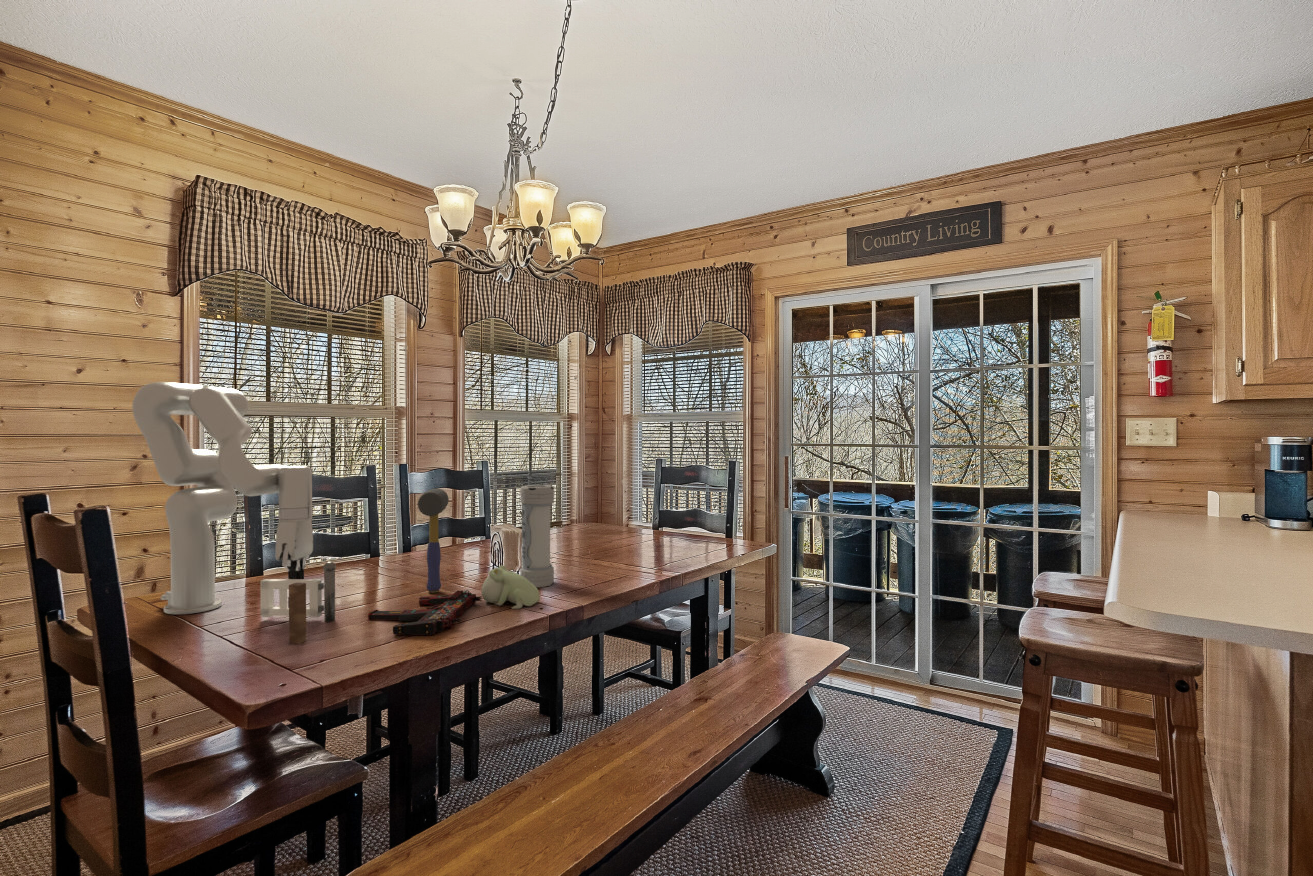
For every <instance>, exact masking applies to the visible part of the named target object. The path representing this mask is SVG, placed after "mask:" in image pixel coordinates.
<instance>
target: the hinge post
mask: <svg viewBox="0 0 1313 876" xmlns="http://www.w3.org/2000/svg"><path fill="white" fill-rule="evenodd" d="M322 568H323V569H322V570H323V579H324V580H323V581H324V582H323V583H324V591H323V592H324V594H323V601H324V602H323V603H324V604H323V605H324V611H323V614H324V616H323V618H324V622H325V623H331V622H335V621H336V569H337V566H336V563H335V562H333V561H326V563H324V564H323V567H322Z"/></svg>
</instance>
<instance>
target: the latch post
mask: <svg viewBox="0 0 1313 876" xmlns="http://www.w3.org/2000/svg"><path fill="white" fill-rule="evenodd" d="M287 607H288V608H289V616H288V643H289V645H290V644H293V645H300V644H302V643H305V642H307V616H306V607H307V589H306V583H293V584H290V585H289V589H288V596H287Z"/></svg>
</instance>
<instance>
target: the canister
mask: <svg viewBox="0 0 1313 876" xmlns="http://www.w3.org/2000/svg"><path fill="white" fill-rule="evenodd" d="M554 502H555V486H553V485H548V484H529V485H528V484H527V485H523V486H521V487H520V503H521V505H522V507H521V508H522V509H521V517H522V519H521V526H522V528H521V541H522V543H521V544H522V545H521V557H522V558H521V563H522V567H521V568H520V575H521V576H523V577H525V578H526V579H527V580H528V581H529V582H530V583H532V584H534V585H535V586H536V588H537V589H539V588H546V587H547V586H548V587H550V586H551V585H553V584H554V583H555V582H554V581H555V577H554V575H555V570H554V566H553V564H552V563H551V506H553V503H554ZM548 587H547V588H548Z"/></svg>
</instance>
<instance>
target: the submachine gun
mask: <svg viewBox="0 0 1313 876" xmlns="http://www.w3.org/2000/svg"><path fill="white" fill-rule="evenodd" d="M481 601H483V597H482V595H480V596H477V594H476V593H472V592H470V590H469V589H465V591H464V590H463V589H462V590H456V591H455V592H454V593H453V594H451V595H428V596H427V595H426V596H420V597H419V598H418V604H419V605H429V606H431V607H426V608H425V609H424V608H423V609H404V610H379V609H374V610H372V611H370V612H368V614H367V617H368V618H367V620H368V621H369V620H375V621H378V620H379V621H383V620H384V621H385V620H387V621H389V620H390V621H393V620H398V622H402V623H399V624H396V625H393V626H392V634H393V635H397V636H399V635H400V636H403V635H405V636H433V635H434V634H436V633H439V632H444V630H445V629H446V627H447V628H449V629H453V628H454V627H455V626H454V623H461V621H462V619H460V618H459V616H461V615H462V614H463V613H464V612H465V611H466V610H467V609H468V608H469V607H470V606H472V605H474V604H475V603H476V602H481ZM403 622H405V623H403Z"/></svg>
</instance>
